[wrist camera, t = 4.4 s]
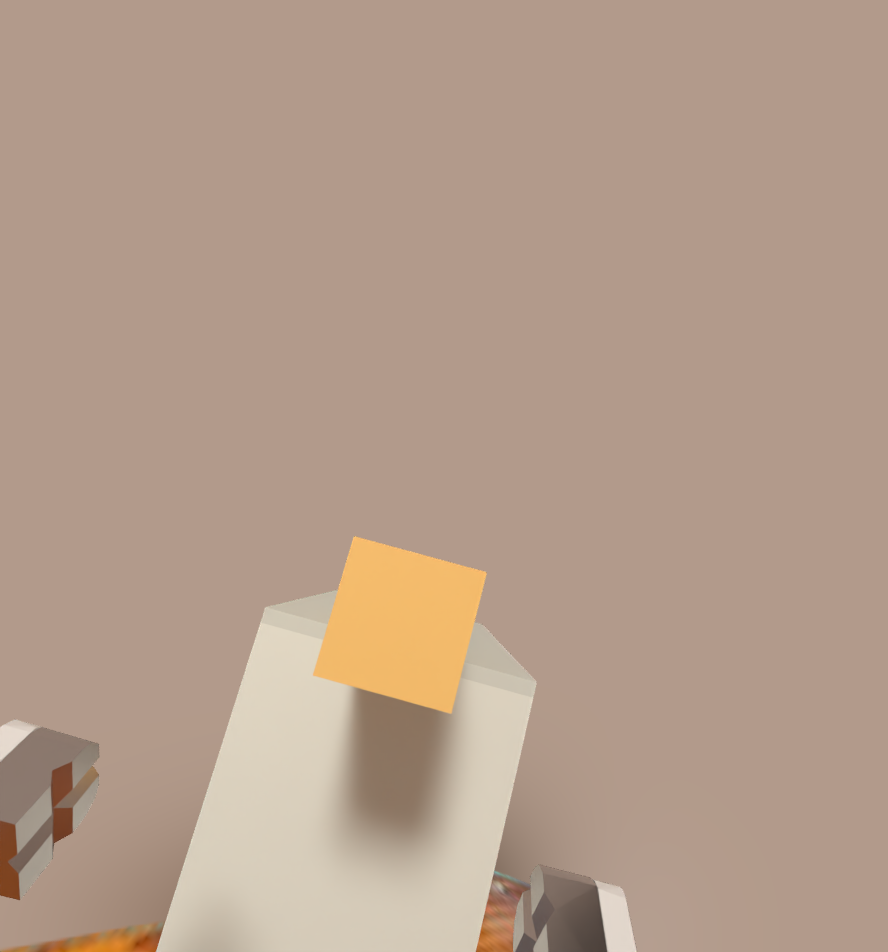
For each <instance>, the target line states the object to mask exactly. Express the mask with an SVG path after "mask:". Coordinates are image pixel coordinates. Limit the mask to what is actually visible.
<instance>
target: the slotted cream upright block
mask: <svg viewBox="0 0 888 952" xmlns="http://www.w3.org/2000/svg"><path fill="white" fill-rule="evenodd" d="M337 592H338V590H335V591H331V592H327V593H323V594H319V595H315V596H311V597H306V598H302V599H298V600H294V601H290V602H286V603H281V604H278V605H274V606H269V607H266V608H265V610H264V614H263V617H262V620H261V623H260V626H259V629H258V633H257V636H256V639H255V642H254V645H253V649H252V651H251V655H250V658H249V661H248V664H247V667H246V670H245V674H244V677H243V680H242V683H241V686H240V689H239V692H238V696H237V699H236V702H235V705H234V708H233V711H232V714H231V718H230V721H229V724H228V727H227V730H226V733H225V737H224V740H223V743H222V746H221V749H220V752H219V755H218V758H217V762H216V765H215V768H214V772H213V774H212V778H211V780H210V784H209V787H208V790H207V793H206V796H205V799H204V802H203V806H202V809H201V812H200V816H199V818H198V822H197V825H196V828H195V831H194V835H193V837H192V840H191V843H190V847H189V850H188V853H187V856H186V859H185V862H184V865H183V869H182V872H181V875H180V878H179V882H178V884H177V888H176V891H175V894H174V897H173V900H172V903H171V906H170V910H169V913H168V916H167V919H166V922H165V925H164V928H163V932H162V935H161V938H160V941H159V944H158V947H157V950H156V952H476V948H477V944H478V939H479V935H480V931H481V926H482V922H483V917H484V913H485V908H486V904H487V900H488V895H489V891H490V886H491V882H492V878H493V873H494V869H495V864H496V860H497V855H498V851H499V846H500V842H501V838H502V833H503V829H504V825H505V820H506V816H507V811H508V806H509V802H510V798H511V794H512V789H513V784H514V780H515V776H516V772H517V767H518V763H519V758H520V754H521V749H522V745H523V741H524V736H525V732H526V727H527V723H528V719H529V714H530V710H531V705H532V700H533V696H534V692H535V688H536V683H537V682H536V681H535V680H534V679H533V677H532V676H531V675H530V674H529V673H528V672H527V671H526V670H525V669H524V668H523V667H522V666H521V665H520V664H519V663H518V662H517V661H516V660H515V659H514V657H513V656H512V655H511V654H510V653H509V652H508V651H507V650H506V649H505V648H504V647H503V646H502V645H501V644H500V643H499V642H498V641H497V639H496V638H495V637H494V636H493V635H492V634H491V633H490V632H489V631H488V630H487V629H486V628H485V627H484V626H483V625H482V624H479V623H476V622H474V626H473V630H472V634H471V638H470V642H469V646H468V650H467V654H466V658H465V662H464V665H463V669H462V673H461V677H460V681H459V685H458V689H457V693H456V697H455V701H454V705H453V709H452V713H451V714H450V713H446V712H443V711H439V710H436V709H432V708H428V707H425V706H421V705H418V704H414V703H410V702H407V701H403V700H400V699H396V698H392V697H389V696H385V695H381V694H378V693H374V692H371V691H367V690H363V689H360V688H356V687H353V686H349V685H345V684H342V683H338V682H335V681H331V680H327V679H324V678H320V677H317V676H313V673H314V669H315V666H316V663H317V659H318V656H319V653H320V649H321V646H322V642H323V639H324V636H325V632H326V629H327V626H328V622H329V619H330V615H331V612H332V609H333V605H334V602H335V598H336V595H337Z"/></svg>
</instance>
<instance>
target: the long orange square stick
mask: <svg viewBox="0 0 888 952" xmlns="http://www.w3.org/2000/svg"><path fill="white" fill-rule="evenodd" d="M485 577H486V572H484V571H480V570H476V569H473V568H469V567H465V566H462V565H458V564H454V563H451V562H447V561H443V560H439V559H436V558H432V557H429V556H425V555H421V554H417V553H414V552H410V551H406V550H403V549H399V548H395V547H392V546H388V545H384V544H381V543H377V542H374V541H369V540H366V539H363V538H359V537H355V536H354V538H353V542H352V545H351V548H350V552H349V555H348V558H347V561H346V565H345V568H344V572H343V575H342V578H341V582H340V585H339V588H338V592H337V595H336V598H335V602H334V605H333V609H332V612H331V615H330V619H329V622H328V626H327V629H326V632H325V636H324V639H323V642H322V646H321V649H320V653H319V656H318V659H317V663H316V666H315V669H314V673H313V676H317V677H320V678H324V679H327V680H331V681H335V682H338V683H342V684H345V685H349V686H353V687H356V688H360V689H363V690H367V691H371V692H374V693H378V694H381V695H385V696H389V697H392V698H396V699H400V700H403V701H407V702H410V703H414V704H418V705H421V706H425V707H428V708H432V709H436V710H439V711H443V712H446V713H450V714H451V713H452V709H453V705H454V701H455V697H456V693H457V689H458V685H459V681H460V677H461V673H462V669H463V665H464V662H465V658H466V654H467V650H468V646H469V642H470V638H471V634H472V630H473V626H474V622H475V617H476V614H477V610H478V606H479V602H480V597H481V594H482V590H483V585H484V582H485Z"/></svg>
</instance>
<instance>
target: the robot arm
mask: <svg viewBox="0 0 888 952" xmlns="http://www.w3.org/2000/svg"><path fill="white" fill-rule="evenodd" d="M98 758H99V744H98V743H94V742H91V741H88V740H84V739H81V738H77V737H74V736H70V735H67V734H64V733H60V732H56V731H53V730H50V729H47V728H44V727H41V726H37V725H34V724H30V723H27V722H23V721H19V720H13V721H11V722H9V723H7V724H5V725H3V726H1V727H0V895H1V896H5V897H9V898H13V899H17V900H21V899H22V897H23V896H24V895H25V893H26V892H27V891H28V889H29V888H30V887H31V886H32V884H33V883H34V882H35V881H36V879H37V878H38V877H39V876H40V874H41V873H42V872H43V870H44V869H45V868H46V867H47V865H48V864H49V863H50V861H51V860H52V859H53V848H54V843H55V842H57V841H59V840H61V839H62V838H64V837H66V836H68V835H70V834H71V833H73V832H74V830H75V829H76V828H77V826H78V825H79V824H80V823H81V821H82V820H83V818H84V817H85V816H86V814H87V812H88V810H89V808H90V806H91V804H92V803H93V801H94V799H95V796H96V792H97V789H98V786H99V774H98V773H97V772H96V770H95V769H94V767H93V766H92V765H93V764H94V763H95V762H96V761H97V759H98ZM530 881H531V889H529V890H527V891H525V892H523V893H522V896H521V898H520V901H519V903H518V906H517V911H516V916H515V921H514V933H513V952H637V949H636V945H635V939H634V934H633V930H632V925H631V920H630V915H629V910H628V905H627V900H626V895H625V893H624V892H623V890H622V888H621V887H619V886H617V885H613V884H609V883H604V882H601V881H597V880H593V879H591V878H590V877H586V876H582V875H578V874H574V873H570V872H566V871H562V870H559V869H555V868H551V867H547V866H543V865H537V866H536V867H535V868H534V870H533V872H532V874H531V876H530Z"/></svg>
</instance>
